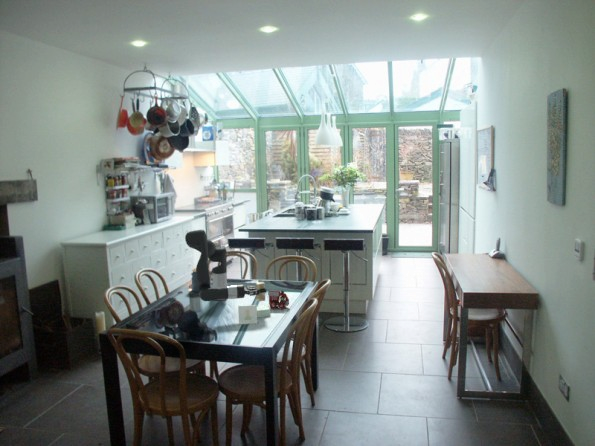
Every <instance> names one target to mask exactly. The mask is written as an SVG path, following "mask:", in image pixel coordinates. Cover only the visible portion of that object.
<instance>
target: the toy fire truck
mask: <svg viewBox="0 0 595 446" xmlns="http://www.w3.org/2000/svg"><path fill="white" fill-rule="evenodd" d="M267 295H268V304H269V308H270V309H271V310H275V309H276V308H277V307H278V309H279V310H284V309H285V307H287V306H289V305H290V299H289V297H288V295H287V293H285V291H284V290H269V291H268V294H267Z"/></svg>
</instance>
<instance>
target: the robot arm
mask: <svg viewBox="0 0 595 446" xmlns="http://www.w3.org/2000/svg"><path fill="white" fill-rule="evenodd" d="M184 238H185V243H186V245H187V247H189V248H191V249H193V250H196V251H198V252H199V253H200V256H199V259H198V261H197V264H196V266H195V268H196V275H197V281H198V289H199V292H198V296H199V299H200V300H202V301H204V302H212V301H224V300H235V299H244V298H245V297H246V295H248V296H249V297H252V296H256V295H259V294H260V293H265V294H266V293H267V288H265V289H256V285H244V284H235V285H234V284H233V285H228V270H227V268H228V267H227V266H228V265H227V264H228V263H227V259H228V257H227V256H228V254H227V249H226V247H216V244H215V243H214V242H213V241H212V240H211V239H208V236H207V233H206V231H205V230H204V229H196V230H191V231H188V232H186V234H185V237H184ZM209 261H210V262H213V263H219V265H217V266H214V267H212V270H211V274H212V275H211V274H210V275H211V276H212V280H211V278H210V277H211V276H210V275H209V272H210V268H209ZM210 281H212V283H211V287H210ZM256 291H257V292H256Z"/></svg>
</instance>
